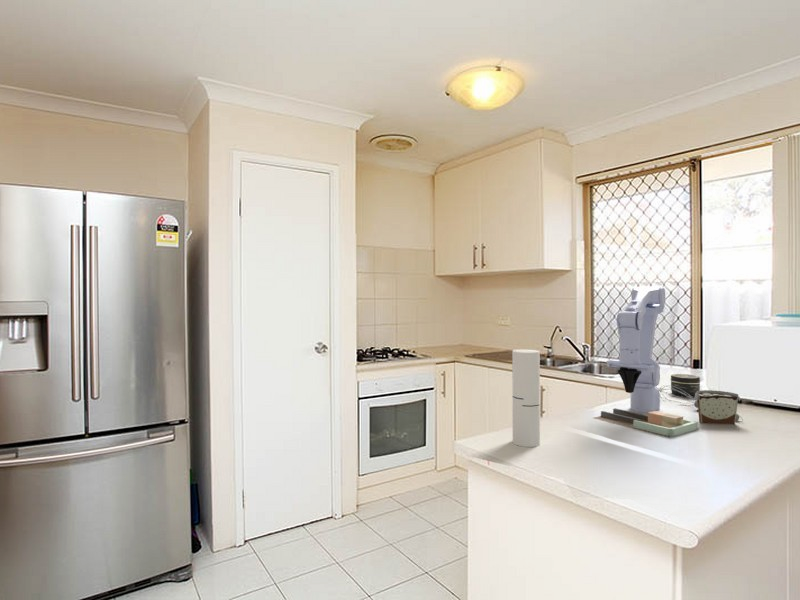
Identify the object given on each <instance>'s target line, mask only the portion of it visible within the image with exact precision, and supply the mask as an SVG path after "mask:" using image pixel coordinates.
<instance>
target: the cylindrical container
mask: <svg viewBox="0 0 800 600" xmlns="http://www.w3.org/2000/svg"><path fill="white" fill-rule="evenodd" d="M511 353H512V355H511V356H512V357H511V358H512V364H511V365H512V367H511V368H512V373H511V374H512V377H511V378H512V379H511V380H512V386H511V387H512V443H513V444H514V445H516V446H519V447H523V448H536V447H539V446H540V444H541V436H540V435H541V432H540V431H541V429H540V428H541V427H540V426H541V424H540V423H541V420H540V419H541V416H540V415H541V412H540V411H541V410H540V409H541V406H540V405H541V399H540V397H541V395H540V394H541V393H540V391H541V390H540V388H541V381H540V380H541V379H540V378H541V377H540V376H541V375H540V373H541V372H540V370H541V369H540V368H541V367H540V364H541V362H540V361H541V359H540V358H541V357H540V356H541V355H540V354H541V352H540V350H538V349H537V350H536V349H526V348H525V349H512V351H511Z"/></svg>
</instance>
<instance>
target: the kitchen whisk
mask: <svg viewBox="0 0 800 600" xmlns="http://www.w3.org/2000/svg"><path fill="white" fill-rule="evenodd" d="M666 387H667V388H666ZM673 387H674V386H673ZM663 388H664V389H663ZM676 388H677V387H676ZM668 389H669V390H670V391H671V390H673V388H672V389H671V386H670V385H669V384H668V385H661V386H660V387H659V389H658V390H659V392H660V394H661V395H662V396H663V397H661V395H660V400H662V402H665V400H668V402H669V401H670V402H671V401H672V402H673V400H671V399H668V398H667V397H665V395H664V394H667V395H669V396H672V397H675V398H678V399H681V400H683V401H687V402H685V404H684V403H683V402H682V401H681V402H680V401H679V403H680V406H685V407H694V408H696V409H698V405H697V400H695V399H694V397H692V396H691V397H690V396H689V397H688V395H689V394H688V395H687V397H686V398H689V399H691V400H692V401H691V400H689V399H686V398H684V397H682V396H676V395H674V394H673V393H669V392H667V391H666V390H668ZM678 389H679V388H678ZM674 390H675V389H674ZM680 390H681V389H680ZM665 391H666V392H665ZM676 391H677V390H676ZM682 391H683V390H682ZM678 392H680V391H678ZM663 393H664V394H663ZM680 393H682V392H680ZM685 393H686V392H685ZM682 394H683V393H682ZM684 395H686V394H684ZM663 399H664V400H663ZM674 402H676V403H678V401H676V400H674ZM688 402H689V403H691V404H689V403H688ZM740 418H741V420H742V421H740V423H742V422H744V419H743V418H742V416H740V415H739V414H738V413H736V422H737V420H738V421H739V419H740Z"/></svg>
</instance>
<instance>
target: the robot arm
mask: <svg viewBox="0 0 800 600" xmlns="http://www.w3.org/2000/svg"><path fill="white" fill-rule="evenodd" d="M665 304H666V290H665V287H663V285H662V286H661V285H660V286H634V287H633V288H632V289H631V301H629V303H627V305H626V307H625V308H624V310H622V311H620V312H618V313H617V315H616V326H617V334H618V335H619V360H612V359H610V360H606V367H607V368H616V369H618V370H617V373H618V375H619V377H620V378H621V381H622V383H623V387H624V389H625V392H626V393H628V394H630V409H631V410H633V411H636V412H642V413H648V412H652V411H659V410H660V408H661V398H660V396H661V393H660V391H659V390H660V389H659V388H657V386H659V385H660V380H661V373H660V372H661V367H660V365H659V363H658V362H657V361H656V360H655V359H653V352H654V351H653V349H654V342H655V336H656V335H655V333H656V325H657V319H658V316H659V314H661V313H664V310H665Z"/></svg>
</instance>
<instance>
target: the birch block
mask: <svg viewBox="0 0 800 600" xmlns="http://www.w3.org/2000/svg"><path fill="white" fill-rule="evenodd" d="M683 419H684V416H682V415H678V414H674V413H669V414H665V415H662V426H663V427H667V428H672V427H676V426H679V425H683Z"/></svg>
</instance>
